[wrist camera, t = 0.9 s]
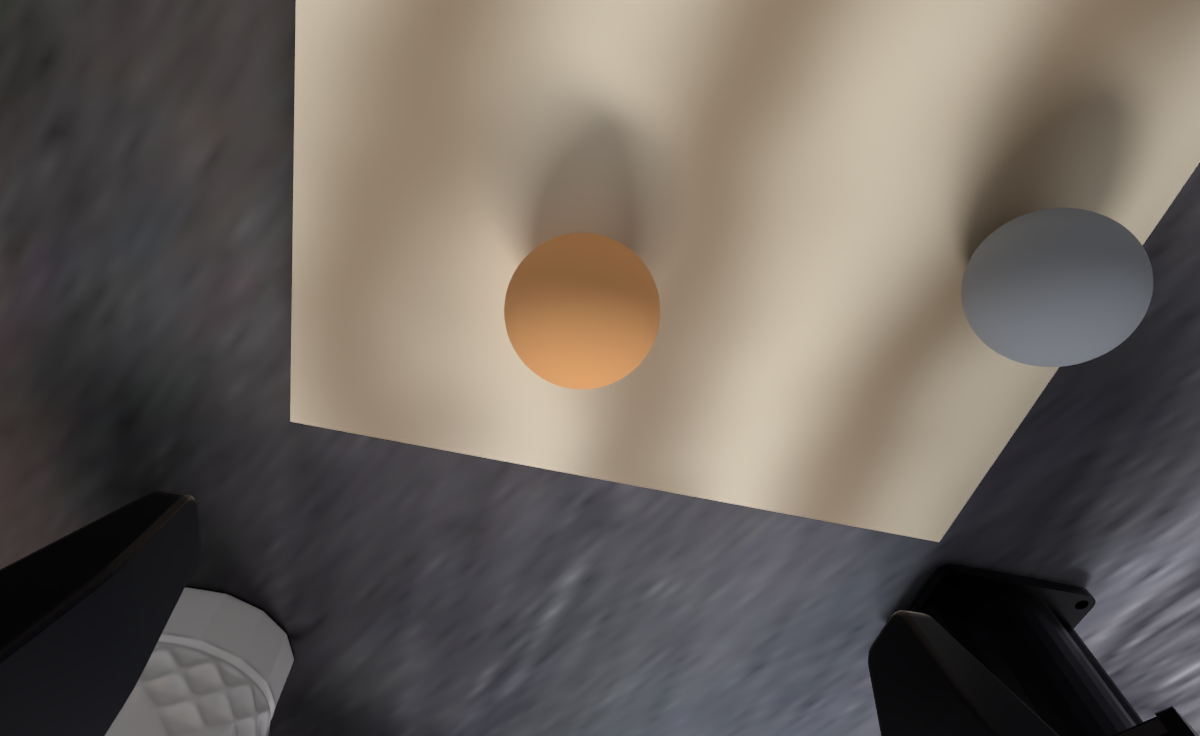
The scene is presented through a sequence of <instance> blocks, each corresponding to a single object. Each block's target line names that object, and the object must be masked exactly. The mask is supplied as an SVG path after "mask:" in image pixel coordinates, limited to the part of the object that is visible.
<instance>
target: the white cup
mask: <svg viewBox="0 0 1200 736" xmlns="http://www.w3.org/2000/svg"><path fill="white" fill-rule="evenodd" d="M293 661H294V657H293V653H292V650H291V647H290V643H289V640H288V637H287V634H286V633H285V632H284V631H283V630H282V629H281V628H280V627H279V626H278V625H277V624H276V623H275V622H274V621H273V620H272V619H271V618H270V617H269V616H268V615H267V614H266V613H265V612H264V611H262V610H260V609H258V608H256V607H254V606H252V605H250V604H248V603H246V602H243V601H241V600H239V599H237V598H235V597H233V596H231V595H228V594H225V593H219V592H213V591H207V590H201V589H194V588H188V587H185V588H184V590H183V592H182V594H181V596H180V598H179V600H178V602H177V604H176V606H175V608H174V610H173V612H172V614H171V616H170V618H169V620H168V622H167V624H166V626H165V628H164V630H163V632H162V634H161V636H160V638H159V640H158V642H157V644H156V647H155V649H154V651H153V653H152V655H151V657H150V659H149V661H148V663H147V665H146V667H145V669H144V670H143V672H142V674H141V676H140V678H139V680H138V682H137V684H136V686H135V688H134V689H133V691H132V693H131V694H130V696H129V698H128V699H127V701H126V703H125V704H124V706H123V708H122V709H121V711H120V712H119V714H118V716H117V717H116V719H115V720H114V722H113V723H112V725H111V727H110V728H109V730H108V731H107V733H106V735H105V736H269V728H270V721H271V719H272V717H273V714H274V711H275V707H276V705H277V702H278V700H279V697H280V695H281V692H282V690H283V687H284V685H285V682H286V680H287V677H288V675H289V672H290V670H291V667H292V664H293Z"/></svg>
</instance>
